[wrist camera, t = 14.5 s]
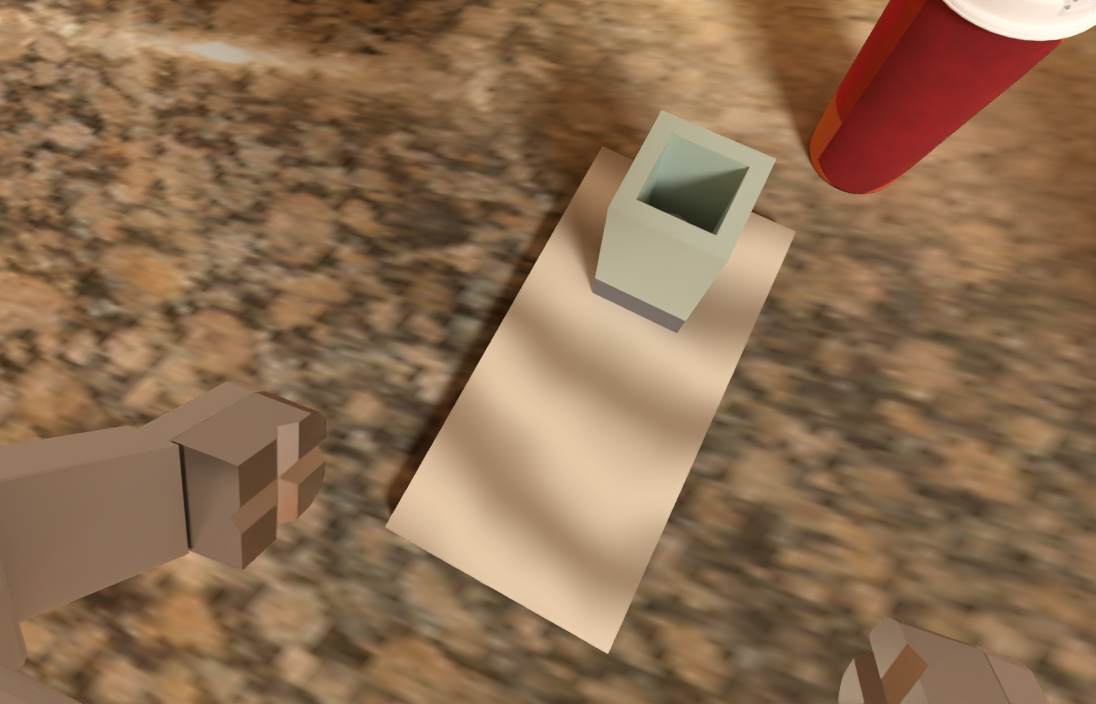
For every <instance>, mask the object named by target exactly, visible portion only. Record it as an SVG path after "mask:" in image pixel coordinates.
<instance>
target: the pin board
mask: <svg viewBox="0 0 1096 704" xmlns="http://www.w3.org/2000/svg"><path fill="white" fill-rule="evenodd" d="M633 162H634V160H632V159H630V158H628V157H626V156H623V155H621V154H619V153H617V152H614V151H612V150H610V149H607V148H605V147H603V146H602V148H601V149H600V151H599V153H598V155H597V156H596V158H595V160H594V162H593V163H592V165H591V167H590V169H589V170H588V172H587V174H586V176H585V177H584V179H583V181H582V183H581V184H580V186H579V188H578V190H577V191H576V193H575V195H574V197H573V198H572V200H571V202H570V204H569V205H568V207H567V209H566V211H565V212H564V214H563V216H562V218H561V219H560V221H559V223H558V225H557V226H556V228H555V230H554V232H553V233H552V235H551V237H550V239H549V240H548V242H547V244H546V246H545V247H544V249H543V251H542V253H541V255H540V256H539V258H538V260H537V262H536V263H535V265H534V267H533V269H532V270H531V272H530V274H529V276H528V277H527V279H526V281H525V283H524V284H523V286H522V288H521V290H520V291H519V293H518V295H517V297H516V298H515V300H514V302H513V304H512V305H511V307H510V309H509V311H508V312H507V314H506V316H505V318H504V319H503V321H502V323H501V325H500V326H499V328H498V330H497V332H496V333H495V335H494V337H493V339H492V340H491V342H490V344H489V346H488V347H487V349H486V351H485V353H484V354H483V356H482V358H481V360H480V361H479V363H478V365H477V367H476V368H475V370H474V372H473V374H472V375H471V377H470V379H469V381H468V383H467V384H466V386H465V388H464V390H463V391H462V393H461V395H460V397H459V398H458V400H457V402H456V404H455V405H454V407H453V409H452V411H451V412H450V414H449V416H448V418H447V419H446V421H445V423H444V425H443V426H442V428H441V430H440V432H439V433H438V435H437V437H436V439H435V440H434V442H433V444H432V446H431V447H430V449H429V451H428V453H427V454H426V456H425V458H424V460H423V461H422V463H421V465H420V467H419V468H418V470H417V472H416V474H415V475H414V477H413V479H412V481H411V482H410V484H409V486H408V488H407V489H406V491H405V493H404V495H403V496H402V498H401V500H400V502H399V504H398V505H397V507H396V509H395V511H394V512H393V514H392V516H391V518H390V519H389V521H388V523H387V525H386V526H385V527H386V528H387V529H389V530H391V531H393V532H394V533H396V534H398V535H400V536H401V537H403V538H405V539H407V540H408V541H410V542H412V543H414V544H416V545H417V546H419V547H421V548H423V549H424V550H426V551H428V552H430V553H431V554H433V555H435V556H437V557H438V558H440V559H442V560H444V561H445V562H447V563H449V564H451V565H453V566H454V567H456V568H458V569H460V570H461V571H463V572H465V573H467V574H468V575H470V576H472V577H474V578H475V579H477V580H479V581H481V582H482V583H484V584H486V585H488V586H489V587H491V588H493V589H495V590H497V591H498V592H500V593H502V594H504V595H505V596H507V597H509V598H511V599H512V600H514V601H516V602H518V603H519V604H521V605H523V606H525V607H526V608H528V609H530V610H532V611H534V612H535V613H537V614H539V615H541V616H542V617H544V618H546V619H548V620H549V621H551V622H553V623H555V624H556V625H558V626H560V627H562V628H563V629H565V630H567V631H569V632H571V633H572V634H574V635H576V636H578V637H579V638H581V639H583V640H585V641H586V642H588V643H590V644H592V645H593V646H595V647H597V648H599V649H600V650H602V651H604V652H606V653H609V650H610V648H611V646H612V644H613V641H614V639H615V637H616V635H617V632H618V630H619V628H620V626H621V623H622V621H623V619H624V617H625V614H626V612H627V610H628V608H629V605H630V603H631V601H632V599H633V596H634V594H635V592H636V590H637V587H638V585H639V583H640V581H641V578H642V576H643V574H644V572H645V569H646V567H647V565H648V563H649V560H650V558H651V556H652V554H653V551H654V549H655V547H656V545H657V542H658V540H659V538H660V536H661V534H662V531H663V529H664V527H665V525H666V522H667V520H668V518H669V516H670V513H671V511H672V509H673V507H674V504H675V502H676V500H677V498H678V495H679V493H680V491H681V489H682V486H683V484H684V482H685V480H686V477H687V475H688V473H689V471H690V468H691V466H692V464H693V462H694V459H695V457H696V455H697V453H698V450H699V448H700V446H701V444H702V441H703V439H704V437H705V435H706V432H707V430H708V428H709V426H710V423H711V421H712V419H713V417H714V414H715V412H716V410H717V408H718V405H719V403H720V401H721V399H722V396H723V394H724V392H725V390H726V387H727V385H728V383H729V381H730V379H731V376H732V374H733V372H734V370H735V367H736V365H737V363H738V361H739V358H740V356H741V354H742V352H743V349H744V347H745V345H746V343H747V340H748V338H749V336H750V334H751V331H752V329H753V327H754V325H755V322H756V320H757V318H758V316H759V313H760V311H761V309H762V307H763V304H764V302H765V300H766V298H767V295H768V293H769V291H770V289H771V286H772V284H773V282H774V280H775V277H776V275H777V273H778V271H779V268H780V266H781V264H782V262H783V259H784V257H785V255H786V253H787V250H788V248H789V246H790V244H791V241H792V239H793V237H794V235H795V232H796V231H794V230H791V229H789V228H787V227H784V226H782V225H780V224H778V223H775V222H773V221H771V220H769V219H766V218H764V217H762V216H759V215H757V214H755V213H753V212H751V213H750V215H749V218H748V220H747V222H746V224H745V226H744V228H743V230H742V232H741V234H740V237H739V239H738V241H737V243H736V245H735V247H734V249H733V251H732V253H731V256H730V258H729V260H728V262H727V263H726V265H725V266H724V267H723V269H722V270H721V272H720V273H719V274H718V276H717V277H716V279H715V280H714V282H713V283H712V284H711V286H710V287H709V289H708V290H707V291H706V293H705V294H704V296H703V297H702V299H701V300H700V301H699V303H698V304H697V306H696V307H695V308H694V310H693V311H692V313H691V314H690V316H689V317H688V318H687V320H686V321H685V323H684V324H683V325H682V327H681V328H680V330H679V331H678V333H675V332H673V331H671V330H669V329H667V328H665V327H663V326H661V325H659V324H657V323H654V322H652V321H650V320H648V319H646V318H644V317H642V316H640V315H638V314H636V313H634V312H631V311H629V310H627V309H625V308H623V307H621V306H619V305H617V304H615V303H613V302H611V301H609V300H606V299H604V298H602V297H600V296H598V295H596V294H594V293H592V292H593V286H594V281H595V276H596V270H597V265H598V260H599V255H600V249H601V244H602V239H603V233H604V228H605V223H606V217H607V212H608V207H609V205H610V203H611V202H612V200H613V198H614V196H615V194H616V192H617V191H618V189H619V187H620V185H621V183H622V182H623V180H624V178H625V176H626V174H627V172H628V171H629V169H630V167H631V165H632V163H633ZM669 215H672V216H674V217H676V218H678V219H681V220H683V221H685V222H687V221H686V219H684V218H683V217H682V216H680V215H677V214H672V213H669ZM687 223H688V222H687Z"/></svg>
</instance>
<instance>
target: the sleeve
mask: <svg viewBox="0 0 1096 704" xmlns="http://www.w3.org/2000/svg"><path fill="white" fill-rule="evenodd" d="M775 161H776V159H775V158H773V157H770V156H768V155H766V154H763V153H761V152H759V151H756V150H754V149H752V148H749V147H747V146H745V145H742V144H740V143H737V142H735V141H733V140H730V139H728V138H726V137H723V136H721V135H719V134H716V133H714V132H712V131H709V130H707V129H705V128H702V127H700V126H698V125H695V124H693V123H691V122H688V121H686V120H683V119H681V118H679V117H676V116H674V115H672V114H669V113H667V112H665V111H661V112H660V114H659V116H658V118H657V120H656V122H655V123H654V125H653V127H652V129H651V131H650V132H649V134H648V136H647V138H646V140H645V142H644V143H643V145H642V147H641V149H640V151H639V152H638V154H637V156H636V158H635V160H634V162H633V163H632V165H631V167H630V169H629V171H628V172H627V174H626V176H625V178H624V180H623V182H622V183H621V185H620V187H619V189H618V191H617V192H616V194H615V196H614V198H613V200H612V202H611V203H610V205H609V207H608V212H607V217H606V223H605V228H604V233H603V239H602V244H601V249H600V255H599V260H598V265H597V270H596V276H595V281H594V286H593V292H592V293H594V294H596V295H598V296H600V297H602V298H604V299H606V300H609V301H611V302H613V303H615V304H617V305H619V306H621V307H623V308H625V309H627V310H629V311H631V312H634V313H636V314H638V315H640V316H642V317H644V318H646V319H648V320H650V321H652V322H654V323H657V324H659V325H661V326H663V327H665V328H667V329H669V330H671V331H673V332H675V333H678V331H679V330H680V328H681V327H682V325H683V324H684V323H685V321H686V320H687V318H688V317H689V316H690V314H691V313H692V311H693V310H694V308H695V307H696V306H697V304H698V303H699V301H700V300H701V299H702V297H703V296H704V294H705V293H706V291H707V290H708V289H709V287H710V286H711V284H712V283H713V282H714V280H715V279H716V277H717V276H718V274H719V273H720V272H721V270H722V269H723V267H724V266H725V265H726V263H727V262H728V260H729V258H730V256H731V253H732V251H733V249H734V247H735V245H736V243H737V241H738V239H739V237H740V234H741V232H742V230H743V228H744V226H745V224H746V222H747V220H748V218H749V215H750V213H751V211H752V209H753V207H754V205H755V203H756V201H757V199H758V196H759V194H760V192H761V190H762V188H763V186H764V184H765V182H766V180H767V177H768V175H769V173H770V171H771V169H772V167H773V165H774V163H775ZM669 213H672V214H677V215H680V216H682V217H683V218H684V219H686V221H687V222H688V223H687V222H685V221H683V220H681V219H678V218H676V217H674V216H672V215H669Z"/></svg>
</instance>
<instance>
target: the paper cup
mask: <svg viewBox="0 0 1096 704" xmlns="http://www.w3.org/2000/svg"><path fill="white" fill-rule="evenodd" d="M1094 25H1096V0H890V1H889V3H888V5H887V6H886V8H885V10H884V11H883V13H882V15H881V17H880V18H879V20H878V22H877V23H876V25H875V27H874V28H873V30H872V32H871V34H870V35H869V37H868V39H867V40H866V42H865V44H864V45H863V47H862V49H861V51H860V52H859V54H858V56H857V57H856V59H855V61H854V62H853V64H852V66H851V68H850V69H849V71H848V73H847V74H846V76H845V78H844V80H843V81H842V83H841V85H840V86H839V88H838V90H837V92H836V93H835V95H834V97H833V99H832V100H831V102H830V104H829V106H828V107H827V109H826V111H825V113H824V114H823V116H822V118H821V120H820V122H819V123H818V125H817V127H816V129H815V131H814V133H813V135H812V138H811V141H810V145H809V155H810V159H811V162H812V165H813V167H814V169H815V170H816V172H817V173H818V174H819V176H820V177H821V178H822V179H823V180H824V181H826V182H827V183H828V184H830V185H831V186H833V187H835V188H837V189H839V190H841V191H844V192H848V193H853V194H869V193H873V192H877V191H879V190H881V189H883V188H885V187H887V186H888V185H890V184H891V183H892V182H894V181H895V180H896V179H898V178H899V177H900V176H901V175H903V174H904V173H905V172H906V171H908V170H909V169H910V168H911V167H913V166H914V165H915V164H916V163H918V162H919V161H920V160H921V159H922V158H924V157H925V156H926V155H927V154H928V153H930V152H931V151H932V150H933V149H935V148H936V147H937V146H938V145H939V144H941V143H942V142H943V141H944V140H945V139H947V138H948V137H949V136H950V135H951V134H953V133H954V132H955V131H956V130H957V129H959V128H960V127H961V126H962V125H964V124H965V123H966V122H967V121H968V120H970V119H971V118H972V117H973V116H974V115H976V114H977V113H978V112H979V111H981V110H982V109H983V108H984V107H985V106H987V105H988V104H989V103H990V102H992V101H993V100H994V99H995V98H996V97H998V96H999V95H1000V94H1001V93H1003V92H1004V91H1005V90H1006V89H1008V88H1009V87H1010V86H1011V85H1012V84H1014V83H1015V82H1016V81H1017V80H1019V79H1020V78H1021V77H1022V76H1023V75H1024V74H1026V73H1027V72H1028V71H1029V70H1030V69H1031V68H1033V67H1034V66H1035V65H1036V64H1037V63H1038V62H1039V61H1041V60H1042V59H1043V58H1044V57H1045V56H1046V55H1048V54H1049V53H1050V52H1051V51H1052V50H1053V49H1055V48H1056V47H1057V46H1058V45H1059V44H1061V43H1062V42H1063V41H1064V40H1065V39H1067V38H1068V37H1071V36H1074V35H1077V34H1079V33H1082V32H1084V31H1086V30H1088V29H1089V28H1091V27H1093V26H1094Z"/></svg>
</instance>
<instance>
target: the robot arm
mask: <svg viewBox="0 0 1096 704" xmlns="http://www.w3.org/2000/svg"><path fill="white" fill-rule="evenodd" d="M325 438H326V418H325V417H324V416H323V415H322V414H321V413H320V412H318V411H315V410H313V409H310V408H307V407H305V406H302V405H300V404H297V403H294V402H292V401H289V400H287V399H284V398H281V397H279V396H276V395H274V394H271V393H269V392H266V391H265V392H264V391H262V390H259V389H257V388H254V387H252V386H249V385H246V384H244V383H241V382H238V381H236V382H225V383H223V384H221V385H219V386H217V387H216V388H214V389H212V390H210V391H208V392H206V393H204V394H202V395H200V396H199V397H197V398H195V399H193V400H191V401H189V402H187V403H185V404H183V405H182V406H180V407H178V408H176V409H174V410H172V411H170V412H168V413H166V414H165V415H163V416H161V417H159V418H157V419H155V420H153V421H151V422H149V423H148V424H146V425H144V426H142V427H140V428H138V429H136V428H133V427H131V426H122V427H116V428H110V429H103V430H97V431H91V432H85V433H79V434H73V435H66V436H60V437H54V438H48V439H42V440H36V441H29V442H23V443H17V444H11V445H5V446H0V704H82V703H80V702H78V701H76V700H74V699H72V698H70V697H68V696H66V695H64V694H62V693H60V692H58V691H55V690H53V689H51V688H49V687H47V686H45V685H43V684H41V683H39V682H37V681H35V680H33V679H31V678H29V677H27V676H25V675H23V674H21V673H19V672H17V671H16V670H18V669H19V668H20V667H21V666H23V665H24V663H25V660H26V656H27V653H28V652H27V649H26V645H25V642H24V638H23V635H22V632H21V628H20V625H19V623H20V622H23V621H25V620H28V619H30V618H33V617H35V616H38V615H40V614H42V613H45V612H47V611H50V610H52V609H55V608H57V607H60V606H62V605H64V604H67V603H69V602H72V601H74V600H77V599H79V598H82V597H84V596H86V595H89V594H91V593H94V592H96V591H99V590H101V589H103V588H106V587H108V586H111V585H113V584H116V583H118V582H121V581H123V580H125V579H128V578H130V577H133V576H135V575H138V574H140V573H143V572H145V571H147V570H150V569H152V568H155V567H157V566H160V565H162V564H164V563H167V562H169V561H172V560H174V559H177V558H179V557H182V556H184V555H186V554H188V553H189V551H188V550H190V551H192V552H195V553H197V554H200V555H203V556H205V557H208V558H210V559H213V560H216V561H218V562H221V563H223V564H226V565H229V566H231V567H234V568H236V569H239V570H243V569H244V568H246V567H247V566H248V565H249V564H250V563H251V562H252V561H253V560H254V559H255V558H256V557H257V556H258V555H259V554H260V553H261V552H263V551H264V550H265V549H266V548H267V547H268V546H269V545H270V544H271V543H272V542H273V541H274V540H275V539H276V535H277V525H279V524H282V523H285V522H288V521H292V520H295V519H297V518H298V517H299V516H300V515H301V514H302V513H303V512H304V511H305V510H306V509H307V508H308V507H309V506H310V505H311V503H312V502H313V500H314V498H315V497H316V495H317V493H318V492H319V490H320V488H321V485H322V481H323V478H324V474H325V460H324V458H323V456H322V454H321V452H320V450H319V448H318V447H317V445H318V444H320V443H321V442H322V441H323V440H324V439H325ZM869 638H870V642H871V645H872V649H873V652H870V653H867V654H864V655H861V656H858V657H855V658H853V660H852V662H851V663H850V665H849V667H848V668H847V670H846V672H845V674H844V675H843V679H842V683H841V688H840V692H839V704H1049V702H1048V700H1047V698H1046V697H1045V695H1044V693H1043V691H1042V690H1041V688H1040V686H1039V684H1038V682H1037V681H1036V679H1035V677H1034V675H1033V674H1032V672H1031V671H1030V670H1029V669H1028V668H1027V667H1026V666H1025V665H1024V664H1023V663H1022V662H1020V661H1019V660H1017V659H1014V658H1011V657H1008V656H1005V655H1002V654H999V653H996V652H993V651H990V650H987V649H984V648H981V647H978V646H975V645H969V644H966V643H963V642H961V641H958V640H955V639H952V638H949V637H946V636H944V635H941V634H938V633H935V632H932V631H929V630H927V629H924V628H921V627H918V626H915V625H912V624H910V623H907V622H904V621H901V620H898V619H895V618H892V617H890V616H887V617H885V618H884V619H882V620H880V621H879V622H878V623H877V624H876V626H875V627H874V628H873V630H872V631H871V633H870V634H869Z"/></svg>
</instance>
